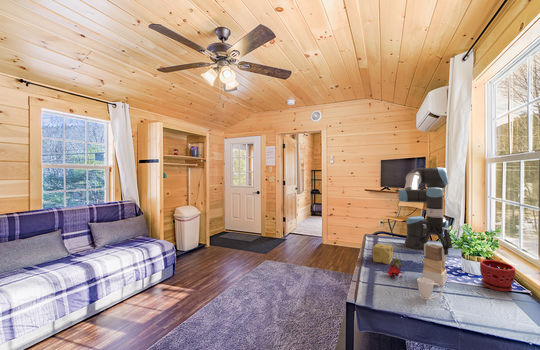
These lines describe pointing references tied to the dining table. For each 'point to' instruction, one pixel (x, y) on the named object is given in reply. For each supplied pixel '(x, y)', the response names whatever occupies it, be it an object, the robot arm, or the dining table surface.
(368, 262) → the dining table surface
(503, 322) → the dining table surface
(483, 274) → the plant pot
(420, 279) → the cup
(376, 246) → the cheese
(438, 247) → the walnut block
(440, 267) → the oak block
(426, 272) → the cream block
